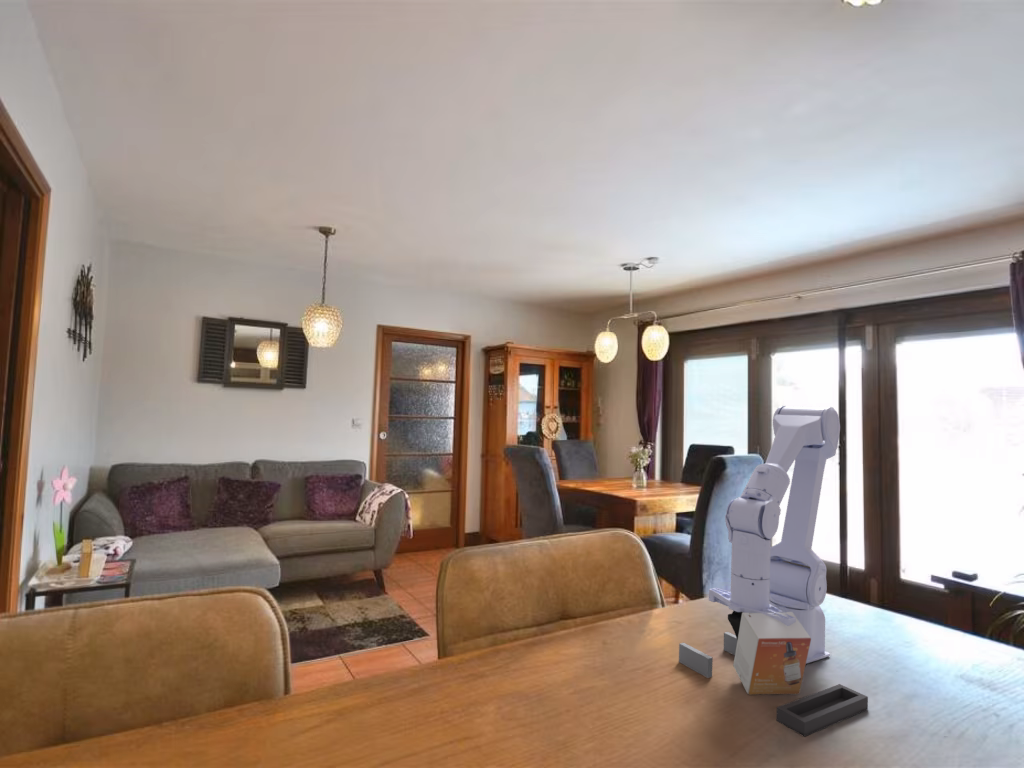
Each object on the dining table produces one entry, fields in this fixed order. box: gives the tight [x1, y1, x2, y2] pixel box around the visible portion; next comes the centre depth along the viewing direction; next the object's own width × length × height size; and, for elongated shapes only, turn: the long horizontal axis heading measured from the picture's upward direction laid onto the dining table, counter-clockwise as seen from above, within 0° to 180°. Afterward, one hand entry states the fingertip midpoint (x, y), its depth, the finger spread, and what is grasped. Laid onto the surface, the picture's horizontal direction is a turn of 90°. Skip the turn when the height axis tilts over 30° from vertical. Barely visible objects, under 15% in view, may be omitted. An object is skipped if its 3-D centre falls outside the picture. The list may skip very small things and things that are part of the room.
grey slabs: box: [678, 631, 737, 679], centre depth 91 cm, size 12×6×3 cm, turn 120°
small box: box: [733, 612, 811, 696], centre depth 82 cm, size 8×6×10 cm
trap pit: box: [775, 683, 869, 737], centre depth 76 cm, size 15×4×2 cm, turn 120°
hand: (748, 661), depth 87 cm, fingers closed, pressing on small box
